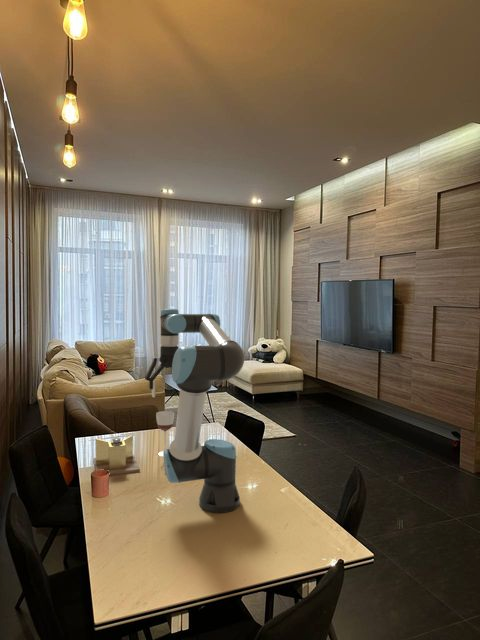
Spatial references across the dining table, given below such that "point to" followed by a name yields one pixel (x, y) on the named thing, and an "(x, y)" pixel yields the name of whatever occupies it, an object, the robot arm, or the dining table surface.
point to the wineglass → (164, 424)
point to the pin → (116, 441)
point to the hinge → (114, 452)
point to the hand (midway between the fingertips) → (169, 395)
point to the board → (130, 467)
